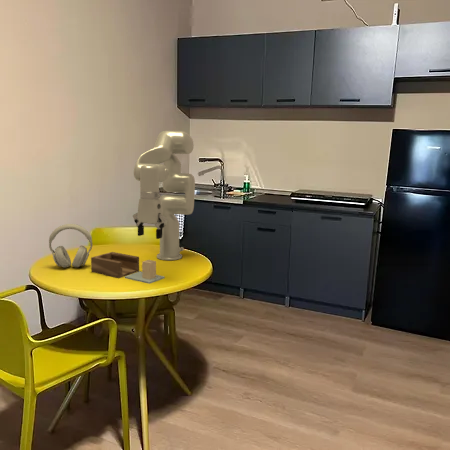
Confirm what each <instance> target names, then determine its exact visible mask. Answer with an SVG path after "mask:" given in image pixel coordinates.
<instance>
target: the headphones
mask: <svg viewBox="0 0 450 450" xmlns="http://www.w3.org/2000/svg"><path fill="white" fill-rule="evenodd" d="M65 230H75V231H77V232H80V233H81V234H83V235H84V237H85V239H87V241H88V242H89V244H90V247H89V249H88V248H87V247H86V246H85V245H80V246H79V248H78V249H77V252H76V254H75V256H74V257H73V258H74V259H73V261H72V260H71V257H70V255H69V252H68V251H67V249H66V248H65V247H64V246H63V245H59V246H57V247H56V248H55V249H53V248H52V242H53V240H54V239H55V238H56V236H57V235H58V234H59V233H61V232H63V231H65ZM48 248H49V251H50V252H51V254H52V259H53V261H54V263H55V264H56V265H57V267H59V268H60V267H62V268H64V269H66V268H68V267H70V266H72V267H74V268H80V267H81V266H82V267H84V266H85V265H86V263H87V260H88V258H89V256H90V252H91V251H92V248H93V238H92V235H91V233H90V231H88V229H86V228H85V227H84V226H81V225H78V224H76V223H65V224H61V225H60V226H58V227H56V228H55V229H54V230H53V231H52V232H51V233H50V235H49V239H48Z"/></svg>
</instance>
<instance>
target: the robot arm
mask: <svg viewBox="0 0 450 450" xmlns="http://www.w3.org/2000/svg"><path fill="white" fill-rule="evenodd" d="M193 149H194V140H193V138H192V136H190V134H189V133H188V132H186V131H184V130H163V131H160V133H158V135H157V137H156V140H155V143H154V145H153V147H152V148H151V149H149V150H146V152H143V153H142V154H140V155H139V156H138V158H137V160H136V162H135V165H134V167H133V177H134V180H137V181H138V182H139V188H140V191H139V193H140V194H139V197H140V198H139V199H138V206H137V212H135V213H133V215H132V217H133V220H134V223H135V225H136V227H137V236H138V237H141V236H144V235H145V227H144V226H145V225H144V224H150V225H155V228H156V229H155V238H156V239H157V240H158V239H159V253H158V254H157V255H156V258H157V259H158V260H162V261H175V260H176V261H177V260H181V259H183V255H182V254H181V252H182V251H184V250H185V248H184V247H183V246H181V247H180V221H179V220H178V218H177V217H176V215H183V216H184V215H187V216H188V215H192V214H193V212H194V208H195V192H196V181H195V177H194V175H193V174H191V173H186V172H181V170H182V162H181V161H180V158H178V157H177V156H176V154H179V155H190V154H191V153H192V152H193ZM160 183H162V188H163V191H165V192H167V193H183V194H163V195H162V194H160Z"/></svg>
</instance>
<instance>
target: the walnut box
mask: <svg viewBox="0 0 450 450" xmlns="http://www.w3.org/2000/svg"><path fill="white" fill-rule="evenodd" d="M90 264H91V267H90V268H91V273H93V274H97V275H98V274H99V275H101V276H102V275H103V276H108V277H111V278H116V279H121V278H125V276H128V275H131V274H134V273H137V272H140V256H136V255H131V254H125V253H120V252H116V251H110V252H107V253H103V254H99V255H96V256H91V257H90Z"/></svg>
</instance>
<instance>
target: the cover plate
mask: <svg viewBox="0 0 450 450" xmlns="http://www.w3.org/2000/svg"><path fill="white" fill-rule="evenodd" d="M141 264H142V265H141V268H142V270H141V271H140V270H139V272H136V273H133V274H130V275H127V276H124V279H127V280H132V281H135V282H140V283H143V284H144V283H145V284H149V285H150V284H152V283H155V282H158V281H161V280H163V279H165V276H164V275H160V274H157V261H156V260H151V259H146V260H143V261H142V263H141Z"/></svg>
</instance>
